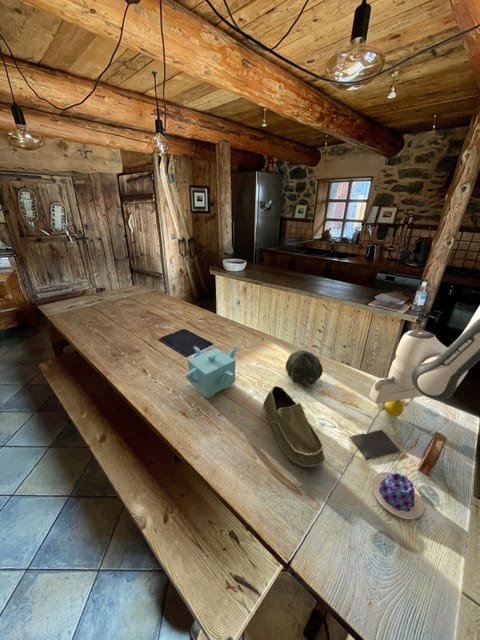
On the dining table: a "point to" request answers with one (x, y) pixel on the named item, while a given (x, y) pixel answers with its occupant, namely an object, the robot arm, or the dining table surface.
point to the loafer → (293, 429)
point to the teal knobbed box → (211, 371)
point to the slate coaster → (374, 444)
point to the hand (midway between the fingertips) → (392, 407)
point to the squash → (304, 367)
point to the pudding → (397, 495)
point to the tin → (432, 453)
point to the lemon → (394, 408)
